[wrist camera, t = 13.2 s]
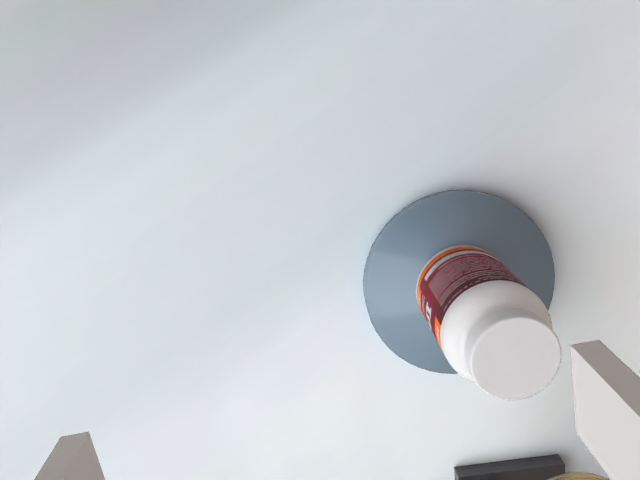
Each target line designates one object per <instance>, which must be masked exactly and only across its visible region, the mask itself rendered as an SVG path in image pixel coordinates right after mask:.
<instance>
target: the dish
mask: <svg viewBox="0 0 640 480" xmlns="http://www.w3.org/2000/svg"><path fill="white" fill-rule="evenodd" d="M459 245H469V246H475V247H478V248H481V249H483V250H485V251H487V252H489V253H490V254H492V255H493V256H494V257H496V258H497V259H498V260H499V261H500V262H501V263H502V264H503V265H504V266H506V267H507V268H508V269H509V270H510V271H511V272H512V273H513V274H514V275H515V276H516V277H517V278H519V279H520V280H521V281H522V282H523V283H524V284H525V285H526V286H527V287H528V288H530V289H531V290H532V291H533V292H534V294H536V295H537V296H538V297H539V298H540V300H541V301H542V302H543V303H544V305H545V307H546V308H547V310H548V309H549V306H550V303H551V300H552V295H553V290H554V277H555V274H554V263H553V259H552V255H551V251H550V248H549V246H548V243H547V241H546V239H545V237H544V236H543V234H542V232H541V231H540V229H539V228H538V227H537V225H536V224H535V223H534V222H533V221H532V220H531V219H530V218H529V217H528V216H527V215H526V214H525V213H524V212H522V211H521V210H520V209H518V208H517V207H515V206H514V205H512V204H510V203H509V202H507V201H505V200H503V199H501V198H499V197H496V196H494V195H491V194H488V193H484V192H479V191H473V190H450V191H445V192H439V193H435V194H432V195H429V196H426V197H424V198H422V199H420V200H417V201H415V202H413V203H412V204H410V205H409V206H407V207H405V208H404V209H402V210H401V211H400V212H399V213H398V214H396V215H395V216H394V217H393V218H392V219H391V220H390V221H389V222H388V223H387V224H386V225H385V226H384V228H383V229H382V231H381V232H380V233H379V235H378V236H377V238H376V240H375V242H374V243H373V245H372V247H371V250H370V252H369V255H368V257H367V261H366V265H365V269H364V279H363V287H364V297H365V303H366V307H367V310H368V313H369V316H370V319H371V322H372V324H373V326H374V328H375V330H376V332H377V333H378V335H379V336H380V338H381V339H382V341H383V342H384V343H385V344H386V345H387V346H388V347H389V348H390V350H392V351H393V352H394V353H395V354H396V355H398V356H399V357H400V358H402V359H404V360H405V361H407V362H408V363H410V364H413V365H415V366H417V367H419V368H422V369H425V370H429V371H433V372H439V373H450V374H457V373H458V372H456V371H455V370H454V369H453V367H452V366H451V365H450V363H449V362H448V360H447V359H446V357H445V355H444V353H443V351H442V349H441V347H440V346H439V344H438V342H437V340H436V338H435V336H434V334H433V332H432V330H431V328H430V327H429V325H428V323H427V321H426V319H425V317H424V316H423V314H422V312H421V310H420V307H419V305H418V302H417V297H416V285H417V280H418V277H419V274H420V272H421V270H422V268H423V267H424V265H425V264H426V263H427V262H428V260H429V259H431V258H432V257H433V256H434V255H435V254H437V253H438V252H440V251H442V250H444V249H446V248H449V247H453V246H459Z"/></svg>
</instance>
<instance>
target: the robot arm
mask: <svg viewBox="0 0 640 480" xmlns="http://www.w3.org/2000/svg"><path fill="white" fill-rule="evenodd" d="M571 361H572V376H573V392H574V408H575V424H576V433H577V435H578V436H579V437H580V439H581V440H582V441H583V443H584V444H585V445H586V447H587V448H588V449H589V451H590V452H591V453H592V455H593V456H594V457H595V459H596V460H597V461H598V463H599V464H600V465H601V467H602V468H603V469H604V471H605V472H606V473H607V475H608V476H609V477H610V479H611V480H640V377H638V376H637V375H636V374H635V373H634V372H633V371H632V370H631V369H630V368H629V367H628V366H627V365H626V364H624V363H623V362H622V361H621V360H620V359H619V358H618V357H617V356H616V355H615V354H614V353H613V352H612V351H610V350H609V349H608V348H607V347H606V346H605V345H604V344H603V343H602V342H601V341H600V340H595V341H590V342H584V343H579V344H573V345H571ZM34 480H105V478H104V475H103V472H102V469H101V466H100V463H99V460H98V457H97V455H96V452H95V449H94V446H93V443H92V440H91V437H90V434H89V432H85V433H79V434H74V435H68V436H63V437H61V438H60V439H59V441H58V442H57V444H56V446H55V447H54V449H53V450H52V452H51V454H50V455H49V457H48V458H47V460H46V462H45V463H44V465H43V467H42V468H41V470H40V471H39V473H38V475H37V476H36V478H35V479H34Z"/></svg>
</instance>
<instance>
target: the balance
mask: <svg viewBox="0 0 640 480" xmlns="http://www.w3.org/2000/svg"><path fill="white" fill-rule="evenodd" d="M454 470H455V480H609V479H607V478H605V477H602V476H599V475H596V474H591V473H582V472H576V473H567V474H565V464H564V462H563V461H562V460H561V458H560V457H559V455H558V454H556V455H548V456H540V457H532V458H524V459H516V460H508V461H500V462H492V463H484V464H476V465H468V466H460V467H454Z"/></svg>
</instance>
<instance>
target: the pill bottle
mask: <svg viewBox="0 0 640 480" xmlns="http://www.w3.org/2000/svg"><path fill="white" fill-rule="evenodd" d="M416 297H417V302H418V305H419V307H420V310H421V312H422V314H423V316H424V317H425V319H426V321H427V323H428V325H429V327H430V328H431V330H432V332H433V334H434V336H435V338H436V340H437V342H438V344H439V346H440V347H441V349H442V351H443V353H444V355H445V357H446V359H447V360H448V362H449V363H450V365H451V366H452V367H453V369H454V370H455V371H456V372H458V373H459V374H460V375H461V376H463V377H464V378H466V379H468V380H470V381H472V382H475V383H477V384H478V386H479V387H480V388H481V389H482V390H483V391H485V392H486V393H488V394H489V395H491V396H493V397H496V398H499V399H503V400H520V399H525V398H528V397H531V396H533V395H535V394H537V393H538V392H540V391H541V390H543V389H544V388H545V387H546V386H547V385H548V384H549V383H550V382H551V381H552V380H553V378H554V377H555V375H556V373H557V371H558V369H559V366H560V362H561V347H560V343H559V340H558V338H557V336H556V335H555V333H554V332H553V330H552V322H551V318H550V315H549V312H548V310H547V308H546V307H545V305H544V303H543V302H542V301H541V300H540V298H539V297H538V296H537V295H536V294H534V292H533V291H532V290H531V289H530V288H528V287H527V286H526V285H525V284H524V283H523V282H522V281H521V280H520V279H519V278H517V277H516V276H515V275H514V274H513V273H512V272H511V271H510V270H509V269H508V268H507V267H506V266H504V265H503V264H502V263H501V262H500V261H499V260H498V259H497V258H496V257H494V256H493V255H492V254H490V253H489V252H487V251H485V250H483V249H481V248H478V247H475V246H469V245H459V246H453V247H449V248H446V249H444V250H442V251H440V252H438V253H437V254H435V255H434V256H433V257H432V258H431V259H429V260H428V262H427V263H426V264H425V265H424V267H423V268H422V270H421V272H420V274H419V277H418V280H417V285H416Z"/></svg>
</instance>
